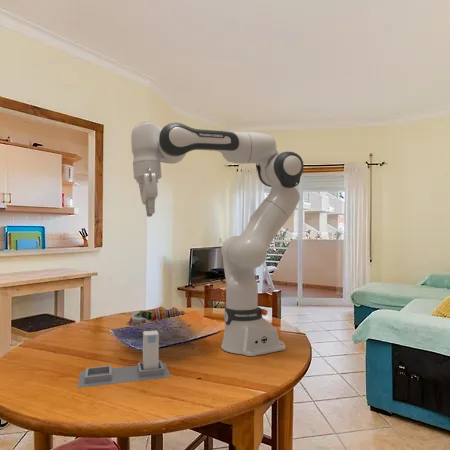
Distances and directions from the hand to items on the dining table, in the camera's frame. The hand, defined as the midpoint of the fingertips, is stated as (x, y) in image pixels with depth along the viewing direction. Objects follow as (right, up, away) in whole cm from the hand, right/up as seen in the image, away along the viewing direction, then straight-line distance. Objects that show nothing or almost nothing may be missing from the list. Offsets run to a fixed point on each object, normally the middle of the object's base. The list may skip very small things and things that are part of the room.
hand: (150, 215), depth 118 cm
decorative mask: (-4, -47, +43) cm, 64 cm away
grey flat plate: (-4, -46, -16) cm, 48 cm away
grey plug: (+3, -45, -14) cm, 47 cm away
